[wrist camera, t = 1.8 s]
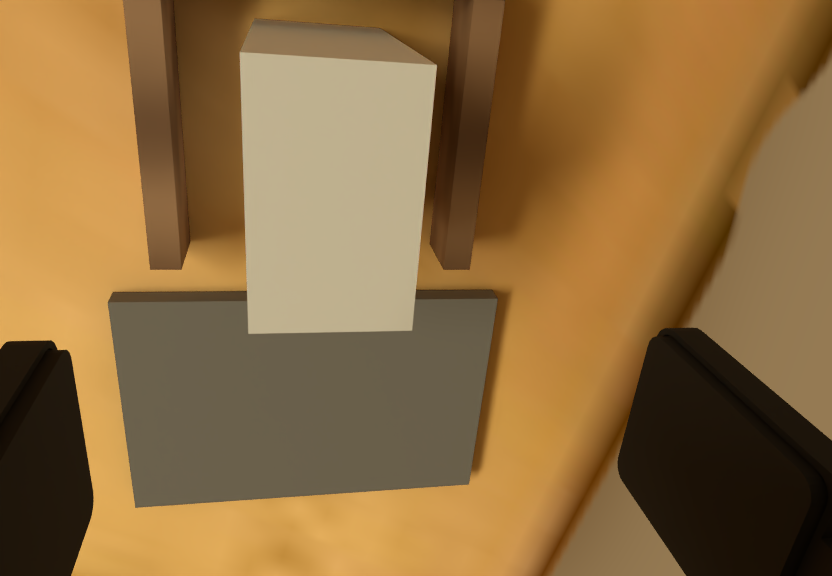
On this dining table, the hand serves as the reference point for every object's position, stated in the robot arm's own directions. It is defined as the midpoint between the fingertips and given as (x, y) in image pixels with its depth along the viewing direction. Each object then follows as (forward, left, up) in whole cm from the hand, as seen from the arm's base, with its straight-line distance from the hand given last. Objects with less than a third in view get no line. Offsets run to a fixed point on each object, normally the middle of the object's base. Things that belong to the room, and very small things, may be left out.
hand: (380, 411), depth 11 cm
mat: (+14, 0, -20) cm, 24 cm away
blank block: (0, 0, -20) cm, 20 cm away
